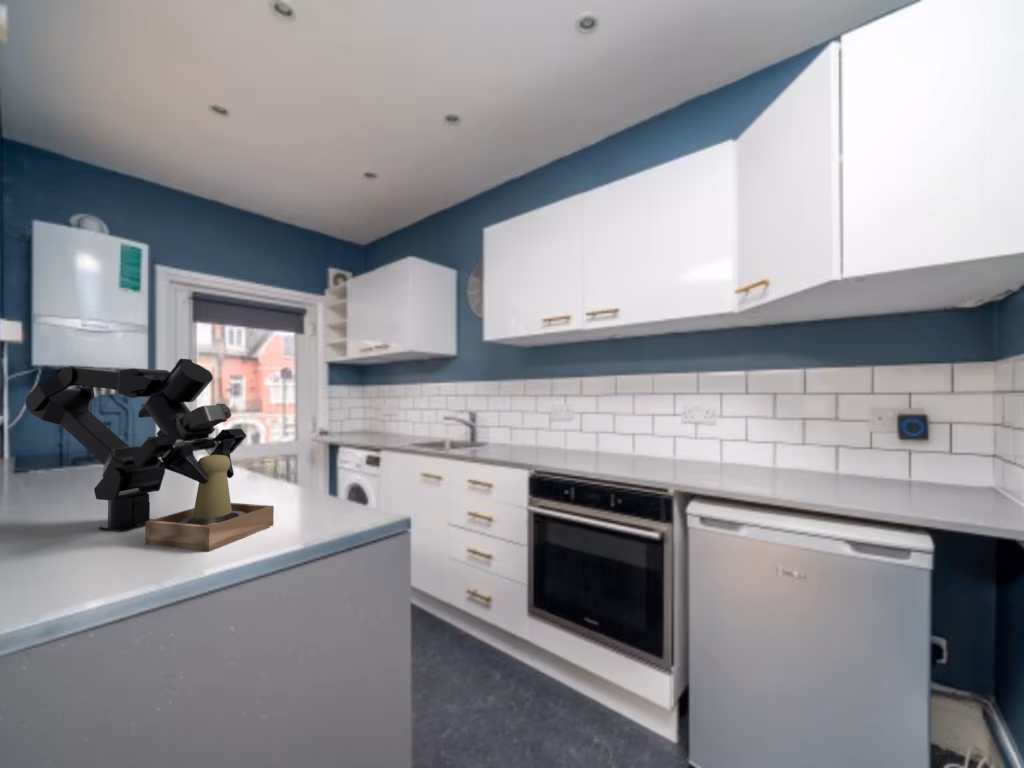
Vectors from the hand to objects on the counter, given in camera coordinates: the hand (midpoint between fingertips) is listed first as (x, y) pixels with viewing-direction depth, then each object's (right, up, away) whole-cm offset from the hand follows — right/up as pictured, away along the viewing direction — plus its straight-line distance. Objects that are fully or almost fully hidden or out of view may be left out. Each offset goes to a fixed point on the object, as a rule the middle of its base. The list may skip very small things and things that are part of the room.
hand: (219, 479), depth 80 cm
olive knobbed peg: (-1, -7, 0) cm, 7 cm away
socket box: (-1, -10, 0) cm, 11 cm away
